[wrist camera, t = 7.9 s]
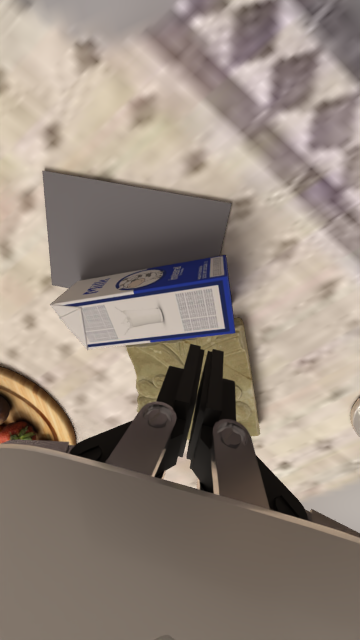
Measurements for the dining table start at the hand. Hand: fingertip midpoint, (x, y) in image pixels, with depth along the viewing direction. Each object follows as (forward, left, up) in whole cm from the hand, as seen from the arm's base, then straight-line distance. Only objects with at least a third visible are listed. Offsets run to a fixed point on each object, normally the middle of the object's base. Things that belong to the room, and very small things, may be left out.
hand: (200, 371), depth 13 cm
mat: (+11, 0, -21) cm, 24 cm away
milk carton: (-3, +1, -17) cm, 18 cm away
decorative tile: (0, +19, -22) cm, 29 cm away
